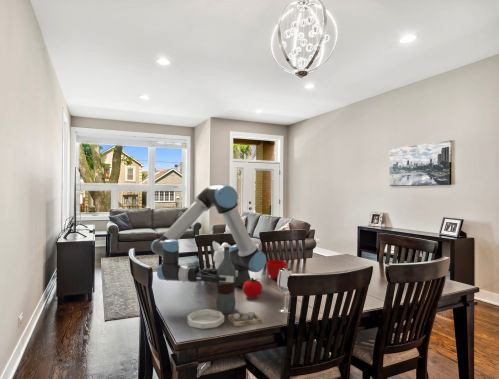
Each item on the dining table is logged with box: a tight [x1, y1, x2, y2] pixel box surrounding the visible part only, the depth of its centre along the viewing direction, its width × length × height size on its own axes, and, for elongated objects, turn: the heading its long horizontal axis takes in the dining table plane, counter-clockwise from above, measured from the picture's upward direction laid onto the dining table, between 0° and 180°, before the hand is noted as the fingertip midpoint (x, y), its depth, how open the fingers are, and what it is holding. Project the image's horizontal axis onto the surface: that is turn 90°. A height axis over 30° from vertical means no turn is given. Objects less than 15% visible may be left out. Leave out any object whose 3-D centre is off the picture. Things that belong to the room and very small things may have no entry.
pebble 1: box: [233, 312, 240, 321], centre depth 146 cm, size 3×3×3 cm
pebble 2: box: [241, 315, 248, 321], centre depth 145 cm, size 3×3×3 cm
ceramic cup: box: [265, 259, 289, 280], centre depth 216 cm, size 13×17×10 cm
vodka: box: [215, 246, 236, 314], centre depth 159 cm, size 9×9×30 cm
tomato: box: [242, 277, 263, 299], centre depth 179 cm, size 10×10×10 cm
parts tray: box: [227, 311, 262, 327], centre depth 146 cm, size 12×9×2 cm
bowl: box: [186, 308, 225, 330], centre depth 145 cm, size 15×15×3 cm
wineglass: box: [276, 267, 293, 313], centre depth 159 cm, size 8×8×20 cm
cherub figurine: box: [212, 240, 230, 269], centre depth 224 cm, size 12×12×22 cm
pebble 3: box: [246, 311, 254, 319], centre depth 148 cm, size 3×3×3 cm
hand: (235, 276), depth 158 cm, fingers closed on vodka, 9 cm apart
